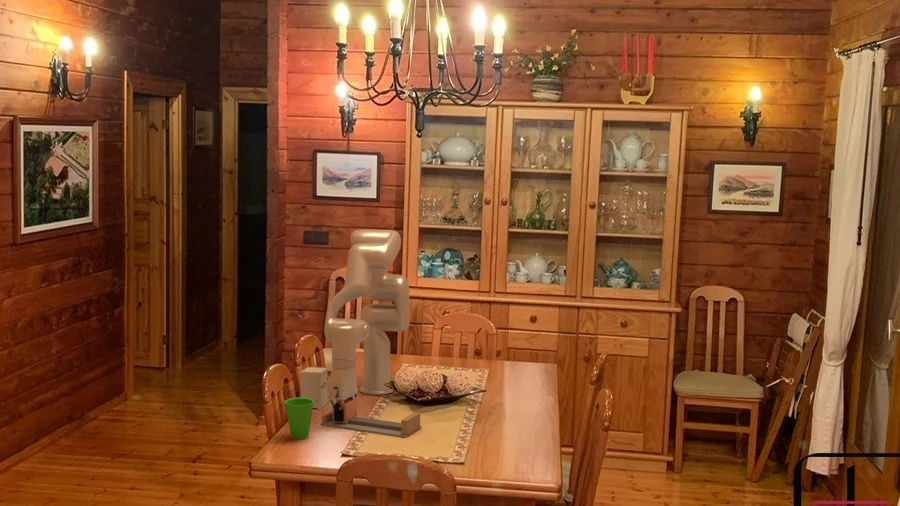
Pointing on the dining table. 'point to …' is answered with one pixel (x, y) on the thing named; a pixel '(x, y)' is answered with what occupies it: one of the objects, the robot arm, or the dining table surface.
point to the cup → (299, 416)
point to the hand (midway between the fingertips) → (344, 417)
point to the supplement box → (314, 385)
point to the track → (377, 425)
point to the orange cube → (347, 410)
